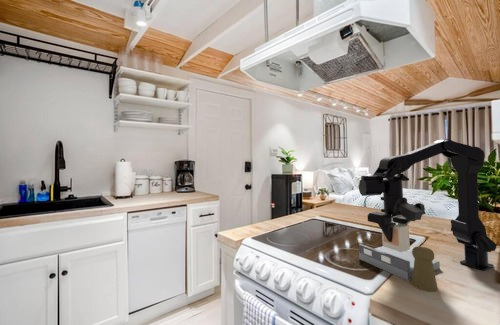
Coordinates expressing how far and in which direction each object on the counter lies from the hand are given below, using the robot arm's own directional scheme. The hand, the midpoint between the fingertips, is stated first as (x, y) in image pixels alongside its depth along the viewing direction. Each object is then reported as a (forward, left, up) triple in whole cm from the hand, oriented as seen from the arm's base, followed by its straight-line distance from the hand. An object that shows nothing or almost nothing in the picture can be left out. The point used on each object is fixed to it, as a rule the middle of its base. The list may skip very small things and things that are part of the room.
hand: (395, 240), depth 80 cm
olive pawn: (+4, +11, -10) cm, 15 cm away
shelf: (-3, -2, -9) cm, 10 cm away
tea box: (0, 0, -3) cm, 3 cm away
